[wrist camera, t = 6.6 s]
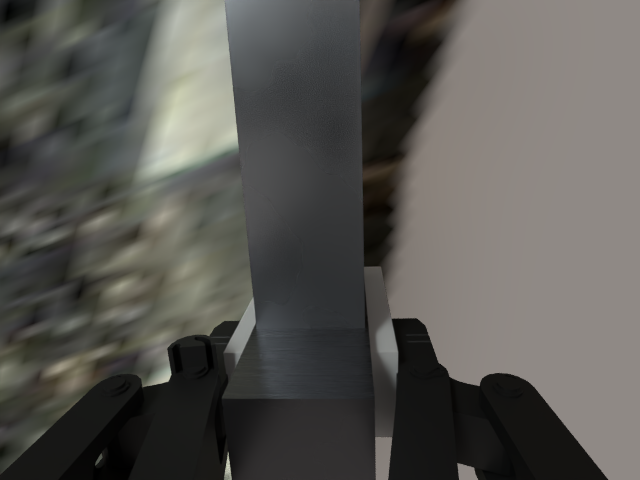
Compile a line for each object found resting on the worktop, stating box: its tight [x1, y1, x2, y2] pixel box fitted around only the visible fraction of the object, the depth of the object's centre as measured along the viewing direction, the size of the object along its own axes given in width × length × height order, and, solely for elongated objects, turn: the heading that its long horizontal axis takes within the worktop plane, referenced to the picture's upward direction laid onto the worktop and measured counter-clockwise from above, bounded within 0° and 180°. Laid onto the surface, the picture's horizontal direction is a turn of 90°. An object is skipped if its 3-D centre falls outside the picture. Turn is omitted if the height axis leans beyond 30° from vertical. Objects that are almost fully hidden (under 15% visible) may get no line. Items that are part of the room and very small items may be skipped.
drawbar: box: [221, 0, 376, 480], centre depth 10 cm, size 23×3×8 cm, turn 3°
